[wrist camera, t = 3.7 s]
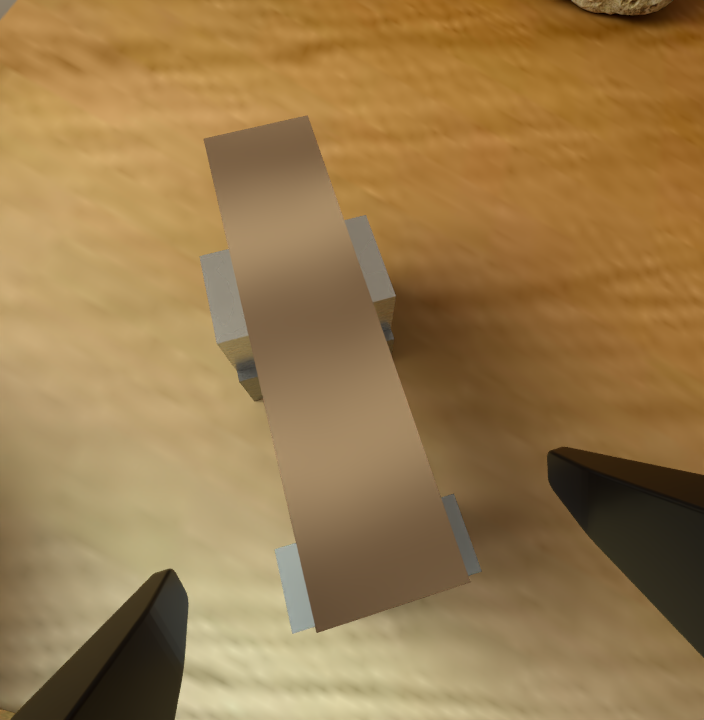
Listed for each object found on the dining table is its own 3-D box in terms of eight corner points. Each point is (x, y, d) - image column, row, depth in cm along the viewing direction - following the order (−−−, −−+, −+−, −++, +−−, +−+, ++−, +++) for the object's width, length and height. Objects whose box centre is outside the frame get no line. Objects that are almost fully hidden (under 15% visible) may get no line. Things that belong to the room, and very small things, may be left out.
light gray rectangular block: (446, 561, 20) (481, 571, 14) (311, 604, 19) (292, 633, 13) (427, 505, 20) (453, 493, 15) (298, 545, 20) (274, 549, 14)
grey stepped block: (389, 363, 23) (400, 307, 17) (254, 401, 22) (219, 355, 17) (361, 280, 25) (362, 205, 19) (235, 313, 24) (197, 246, 18)
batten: (440, 569, 14) (470, 582, 10) (328, 606, 14) (316, 633, 10) (317, 196, 19) (307, 115, 16) (234, 217, 19) (203, 138, 15)
